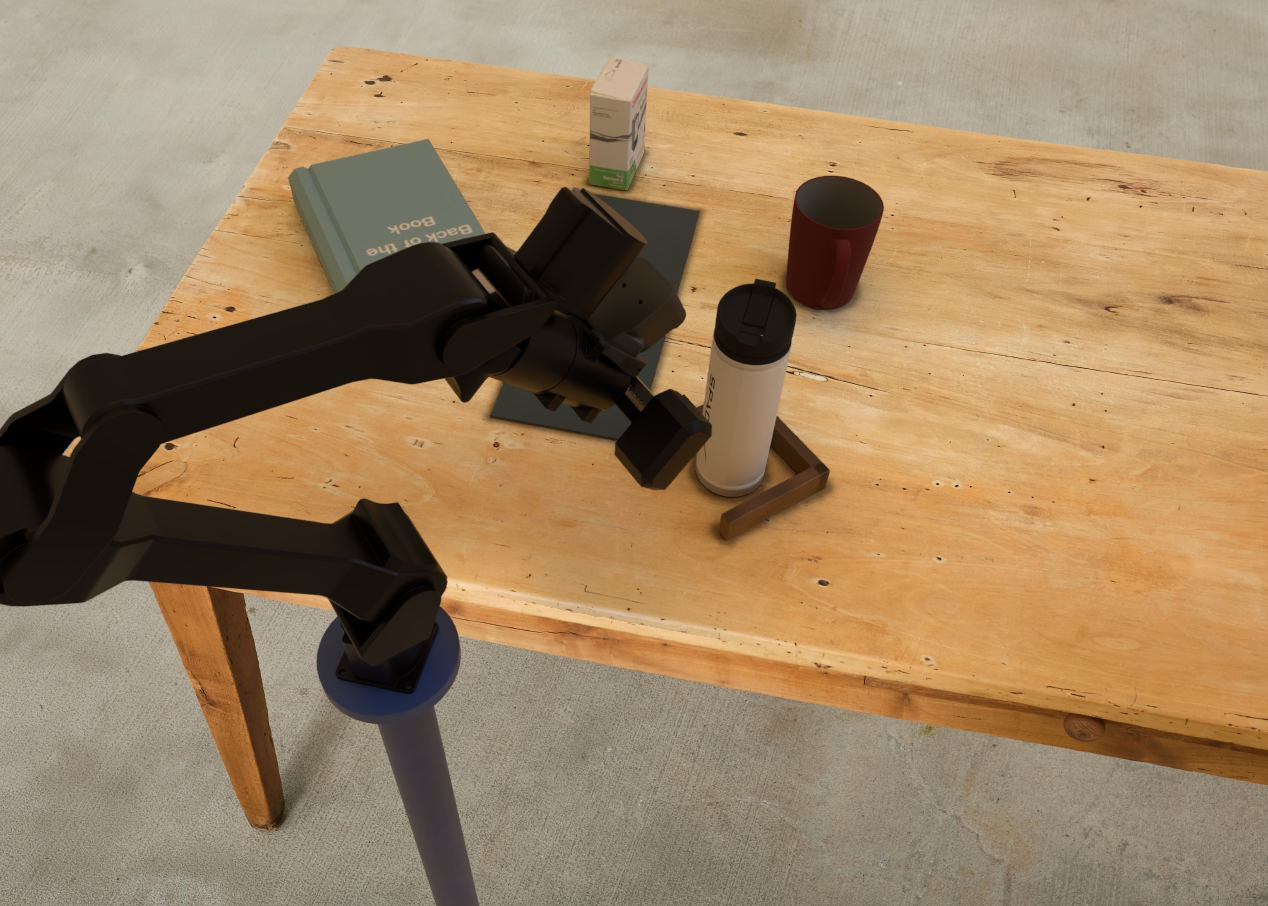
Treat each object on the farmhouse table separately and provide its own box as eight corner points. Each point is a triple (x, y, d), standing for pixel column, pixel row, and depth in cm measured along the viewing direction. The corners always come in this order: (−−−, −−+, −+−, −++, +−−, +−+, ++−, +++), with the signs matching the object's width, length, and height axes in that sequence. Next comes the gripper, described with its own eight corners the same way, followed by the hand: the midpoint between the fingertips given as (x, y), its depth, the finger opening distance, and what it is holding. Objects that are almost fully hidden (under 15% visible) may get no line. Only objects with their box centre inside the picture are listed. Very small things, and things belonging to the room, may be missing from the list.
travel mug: (770, 451, 98) (805, 286, 83) (756, 505, 94) (790, 342, 79) (704, 436, 99) (727, 270, 84) (688, 488, 95) (709, 324, 79)
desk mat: (635, 444, 98) (635, 441, 98) (490, 417, 99) (490, 415, 99) (699, 212, 121) (699, 210, 121) (580, 193, 122) (580, 191, 122)
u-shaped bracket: (726, 540, 91) (729, 523, 89) (646, 447, 98) (648, 429, 96) (825, 487, 95) (830, 470, 94) (743, 401, 102) (746, 383, 100)
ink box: (627, 192, 123) (631, 101, 114) (586, 185, 123) (587, 93, 114) (645, 151, 128) (650, 61, 119) (606, 144, 129) (608, 54, 120)
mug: (868, 337, 108) (893, 252, 100) (783, 333, 108) (800, 248, 100) (856, 262, 116) (878, 177, 108) (776, 258, 116) (791, 173, 108)
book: (502, 295, 110) (499, 257, 107) (351, 336, 106) (343, 298, 102) (433, 176, 123) (428, 138, 120) (295, 208, 118) (286, 170, 115)
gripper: (701, 341, 63) (811, 398, 76) (544, 181, 73) (665, 255, 86) (589, 477, 66) (713, 510, 79) (452, 305, 76) (582, 359, 89)
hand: (668, 401), depth 83 cm, fingers open, 9 cm apart
